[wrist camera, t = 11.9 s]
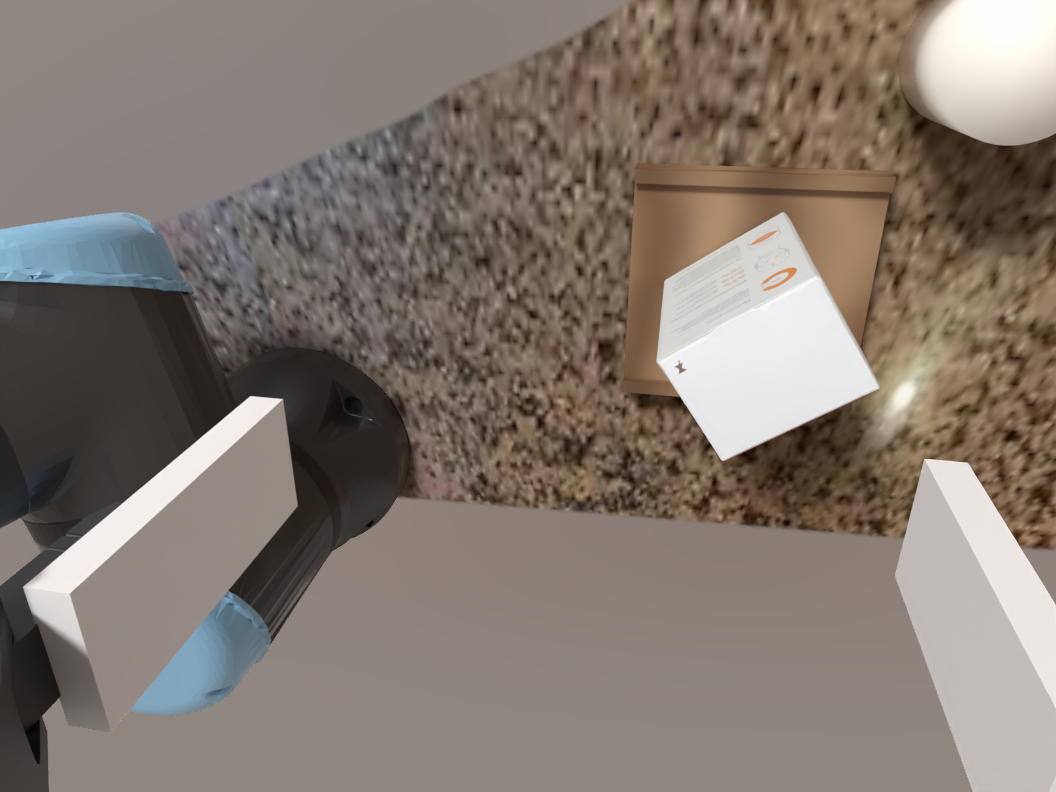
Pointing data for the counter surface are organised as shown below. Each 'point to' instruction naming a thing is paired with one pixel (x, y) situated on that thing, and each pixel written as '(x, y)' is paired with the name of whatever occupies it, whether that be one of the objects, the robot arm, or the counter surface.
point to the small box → (758, 340)
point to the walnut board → (729, 212)
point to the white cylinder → (984, 68)
